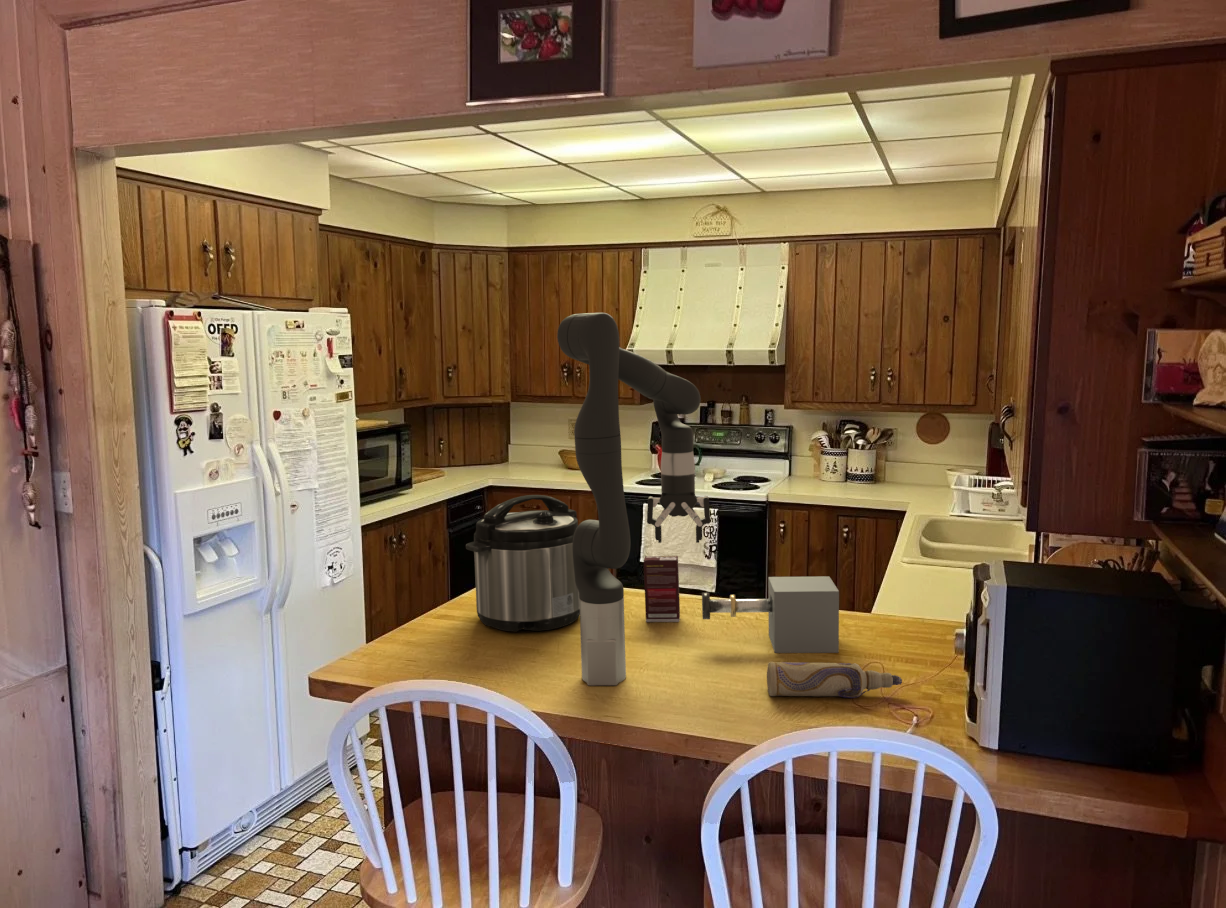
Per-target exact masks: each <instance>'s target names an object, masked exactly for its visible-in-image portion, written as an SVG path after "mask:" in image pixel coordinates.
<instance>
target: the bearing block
mask: <svg viewBox="0 0 1226 908" xmlns="http://www.w3.org/2000/svg"><path fill="white" fill-rule="evenodd" d="M767 580H768V581H767V582H768V583H767V586H768V591H767V592H768V598H767V599H772V612H768V636H769V637H768V638H769V640H770V643H771V646H772V649H773V652H774V654H794V653H795V654H806V653H807V654H808V653H809V654H816V653H817V654H827V653H828V654H829V653H831V654H835V653H836V654H839V646H840V643H839V641H840V629H839V628H840V626H839V624H840V591H839V589H838V588H837V586H836V584H835V583H834V582H833V580H832V578H831V577H830V576H826V575H824V576H823V575H822V576H821V575H820V576H768V579H767Z"/></svg>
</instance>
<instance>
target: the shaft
mask: <svg viewBox="0 0 1226 908" xmlns="http://www.w3.org/2000/svg"><path fill="white" fill-rule="evenodd" d="M710 597H711V596H710V592H701V609H702V610H701V612H702V615H701V616H702V620H711V614H712V613H717V614H719V613H722V614H723V613H725V614H726V613H728V614H730V618H736V615H737V613H769V612H772V599H768V598H736V594H730V595H729V598H725V599H724V598H721V599H719V598H718V599H717V598H715V599H714V598H713V599H710Z"/></svg>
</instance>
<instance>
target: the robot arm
mask: <svg viewBox="0 0 1226 908" xmlns="http://www.w3.org/2000/svg"><path fill="white" fill-rule="evenodd" d="M556 334H557V337H556V338H557V343H558V346H559V348H560V350H561V352H562V353H563V354H564V355H566V357H568V358H570V359H573V360H576V361H578V362H579V363H583V364H586V365H588V369H589V372H588V373H589V382H588V390H587V393H586V395H585V398H584V400H583V403H582V405H581V407H580V410H579V411H578V414H577V416H576V420H575V423H574V427H573V428H574V431H573V434H574V450H575V458H576V462H577V466H578V468H579V471H580V472H581V474H582V476H583V478H584V480H585V482H586V484H587V485H588V487H589V489H590V490H591V493H592V495H593V497H594V500H595V504H596V508H597V518H598V519H597V520H596V519H586V520H583V521H582V522H580V523H578V527H577V528H576V530H575V533H574V536H573V543H572V552H573V565H574V576H575V583H576V586H577V589H578V591H579V602H580V615H579V628H580V632H579V633H580V661H581V663H580V664H581V678H582V679H581V680H582V681H584V682H585V683H586V684H587V686H617V685H619V683H622V682H623V681H625V679H626V677H627V672H626V671H627V670H626V669H627V666H626V660H627V659H626V633H625V626H626V625H625V593H624V590H625V589H624V586H623V583H622V581H620V580H619V579H618V578H617V577H615V576H614V574H613V573H611V571H610V570H609V569H612V570H616V569H620V568H622V567H623V566H624V565H625V564H626V562H627V561H628V558H629V556H630V553H631V544H632V543H631V531H630V524H629V523H630V522H629V518H628V513H627V512H628V511H627V505H626V498H625V491H624V489H625V488H624V477H623V476H624V475H623V466H622V465H623V464H622V462H623V461H622V438H621V437H622V436H621V427H620V411H619V410H620V406H619V404H620V403H619V381H621V382H622V383H624V384H625V385H627V386H628V387H630V388H631V389H632V390H635V391H636V392H638V393H639V394H641V395H642V396H644V397H645V398H648V399H650V400H653V407H654V413H655V414H656V418H657V419H656V420H657V422H658V427H659V429H660V433H661V459H660V477H661V479H660V480H661V481H660V482H661V483H660V485H661V495H660V497H653V496H651V495H650V496H648V498H647V509H646V510H647V513H646V523H647V524H648V525H651V526H654V538H655V540H656V541H657V542H658V543H659V544H661V543H662V539H663V538H662V523H663V522H664V521H665V520H666V518H667V517H668V516H671V517H686V516H689V517H690V518H691V520H693V522H694V523H695V524H696V525H695V542H696V543H698V544H699V543H700V541H702V540H703V527H704V525H709V524H710V523H711V511H710V498H709V496H708V495H704V496H700V497H699V496H698V497H697V496H696V485H695V484H696V481H695V480H696V477H695V476H696V473H695V470H696V466H695V465H696V464H695V455H694V432H693V431H694V430H693V428H692V427H691V426H689V425H687V424H684V423H682V422H681V420H680V418H679V415H685V416H686V415H691V414H693V413H694V412H696V411H697V410H698V408H699V407H700V405H701V400H702V399H701V395H700V394H701V393H700V391H699V389H698V387H697V386H696V385H695V384H694V383H692V382H691V381H689V380H688V379H685V378H683V377H681V376H678V375H676V374H673V373H672V372H671V373H670V372H669V371H666V370H665V369H664V368H662V367H661V366H660V365H658V364H657V363H655V362H654V361H652V360H651V359H649V358H647V357H645V356H643V355H640V354H639V353H636V352H634V351H631V350H627V349H625V348H622V347H621V346H620V333H619V327H618V325H617V322H616V320H615V319H614V317H613V316H612V315H611V314H609V313H606V312H587V313H585V312H584V313H583V312H582V313H575V314H571V315H569V316H566V317H565V318H564V319H563V320H562V321H561V322H560V324H559V325H558V329H557V333H556ZM658 503H659V504H660V506H662V508H663V510H662V512H661V513H660V514H659V516H658V517H657V518H654V517H653V516H654V508H656V507H657V504H658ZM697 503H698V504H699V506H700V507H702V508H703V514H704V517H703V518H701V517H700V516H699V515H698V514H697V512H696V511H695V510H694V507H695V506H696V505H697Z"/></svg>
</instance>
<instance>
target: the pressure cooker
mask: <svg viewBox="0 0 1226 908" xmlns="http://www.w3.org/2000/svg"><path fill="white" fill-rule="evenodd" d="M531 500H536V501H537V500H539V501H542V502H543V504H544V505H545V507H546V508H547V509H548V510H546V509H545V510H526V511H525V510H524V511H519V512H510V511H511V510H512V509H513V508H514V506H517V505H520V504H522V503H526V502H528V501H531ZM577 515H578V514H577V511H576V510H574V509H571V508H569V505H568V504H566V503H565V502H564V501H561V500H560V499H557V498H555V497H552V496H550V495H549V496H548V495H544V494H543V495H541V494H529V495H521V496H517V497H513V498H510V499H508V500H506V501H503V502H502V503H499V504H497V505H496V506H494V507H493V508H491V509H490V510H488V511H487V512H486V513H485V514H483V518H482V519H480V520H478V521H477V522H476V523H475V531H474V533H473V541H471V542H468V543H466V544H465V549H466V550H468V551H471V552H473V555H474V556H473V557H474V577H475V578H474V579H475V582H474V583H475V597H476V598H475V603H476V614H477V616H478V618H479V619H480V621H481V623H483V624H484V625H485V626H489V627H492V628H494V629H498V630H500V631H507V632H519V631H521V630H526V631H527V630H528V631H532V632H533V631H549V630H554V629H558V628H562V627H565V626H568V625H570V624H572V623H573V622H575V621H576V620H578V618H580V602H579V591H578V589H577V586H576V583H575V576H574V565H573V552H572V543H573V536H574V533H575V530H576V528H577V527H578V525H579V520H578V517H577Z"/></svg>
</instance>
